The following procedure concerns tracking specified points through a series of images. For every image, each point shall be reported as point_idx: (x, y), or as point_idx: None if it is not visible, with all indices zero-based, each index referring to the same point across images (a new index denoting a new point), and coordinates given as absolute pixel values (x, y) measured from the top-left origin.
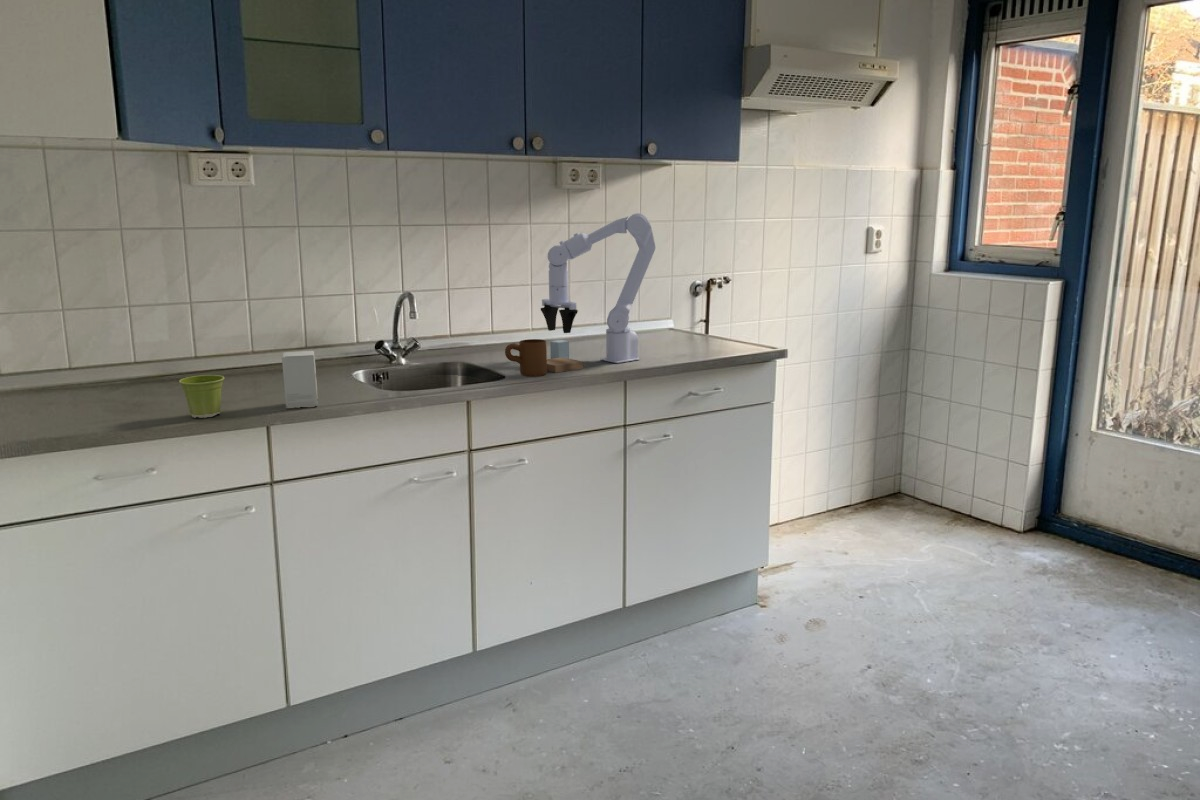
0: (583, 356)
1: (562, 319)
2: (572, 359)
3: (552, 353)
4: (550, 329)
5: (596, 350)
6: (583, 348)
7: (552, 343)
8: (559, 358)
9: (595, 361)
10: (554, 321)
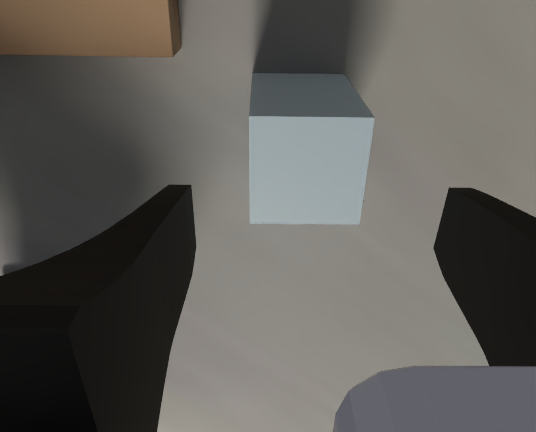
0: (307, 288)
1: (124, 251)
2: (36, 52)
3: (329, 87)
4: (451, 204)
5: None
6: None
7: (339, 112)
8: (136, 3)
9: None
10: (474, 308)
